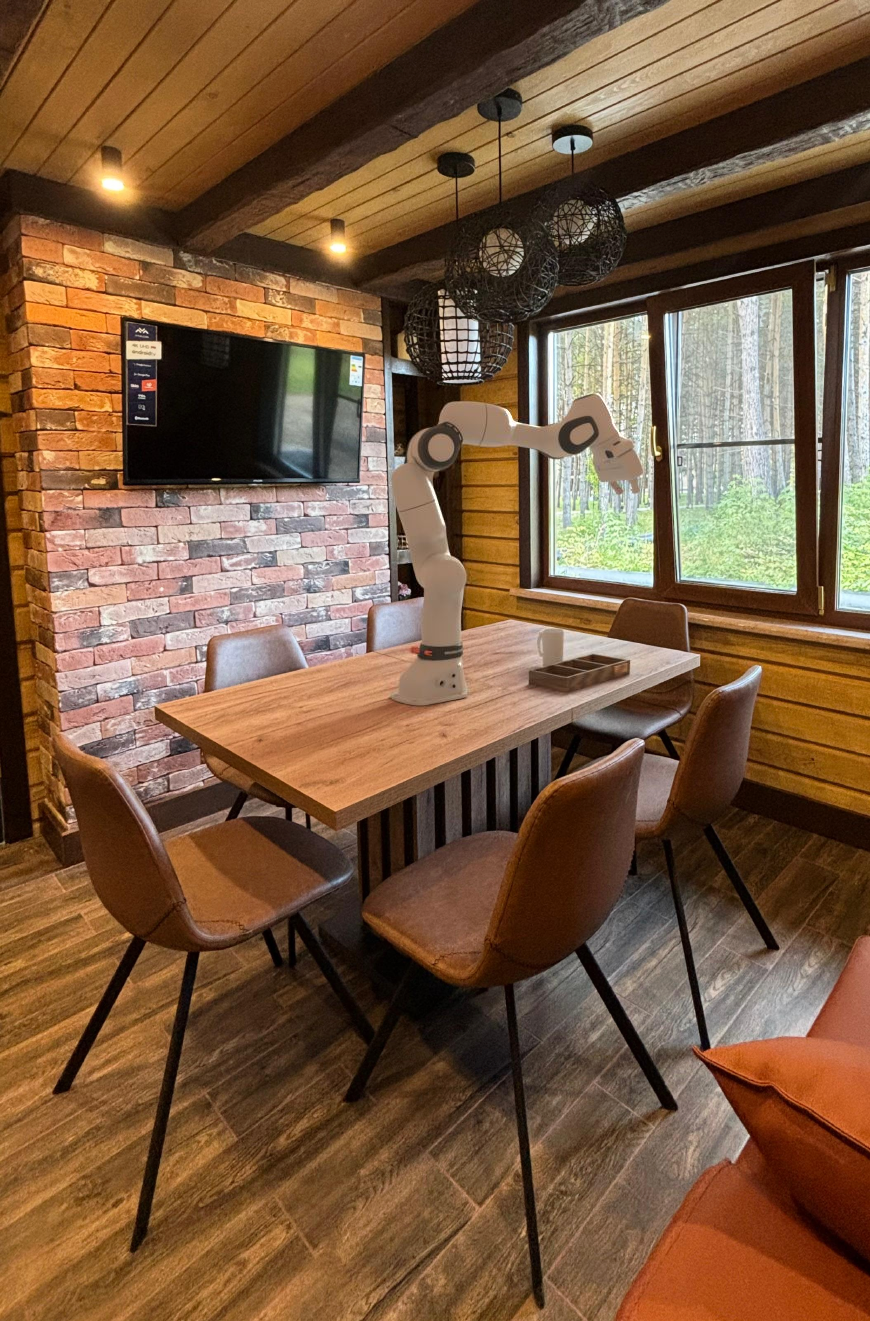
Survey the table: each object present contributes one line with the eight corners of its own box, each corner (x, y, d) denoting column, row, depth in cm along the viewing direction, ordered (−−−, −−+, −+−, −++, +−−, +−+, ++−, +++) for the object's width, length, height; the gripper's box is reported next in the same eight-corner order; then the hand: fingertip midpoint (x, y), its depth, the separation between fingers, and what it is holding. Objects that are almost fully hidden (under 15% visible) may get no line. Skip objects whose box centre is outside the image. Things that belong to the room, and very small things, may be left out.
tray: (568, 693, 206) (568, 678, 206) (528, 684, 217) (528, 670, 216) (631, 673, 226) (631, 660, 225) (592, 666, 237) (592, 653, 236)
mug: (568, 667, 236) (568, 630, 234) (553, 670, 232) (553, 633, 230) (545, 662, 244) (545, 626, 241) (530, 665, 240) (530, 629, 237)
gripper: (582, 457, 218) (602, 499, 222) (616, 451, 198) (637, 497, 202) (600, 446, 218) (619, 489, 222) (635, 439, 199) (656, 486, 203)
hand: (628, 493), depth 212 cm, fingers open, 8 cm apart
